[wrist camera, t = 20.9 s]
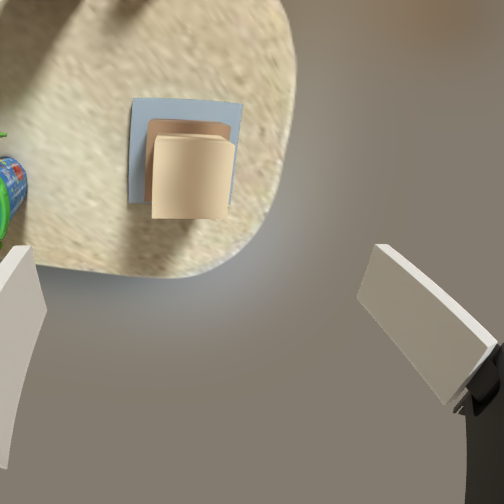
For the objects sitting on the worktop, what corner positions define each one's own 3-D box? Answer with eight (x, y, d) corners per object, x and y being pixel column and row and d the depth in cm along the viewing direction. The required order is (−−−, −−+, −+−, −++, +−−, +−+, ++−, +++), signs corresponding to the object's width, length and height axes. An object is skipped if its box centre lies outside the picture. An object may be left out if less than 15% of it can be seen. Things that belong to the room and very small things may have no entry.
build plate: (130, 199, 36) (128, 203, 35) (134, 98, 30) (133, 97, 29) (228, 201, 40) (230, 204, 39) (240, 103, 34) (242, 104, 33)
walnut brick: (148, 183, 35) (144, 201, 29) (152, 118, 31) (148, 122, 25) (212, 185, 37) (222, 203, 31) (219, 121, 33) (231, 126, 27)
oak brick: (155, 192, 29) (151, 218, 23) (158, 132, 26) (154, 141, 20) (214, 193, 30) (226, 219, 24) (220, 135, 28) (235, 145, 22)
